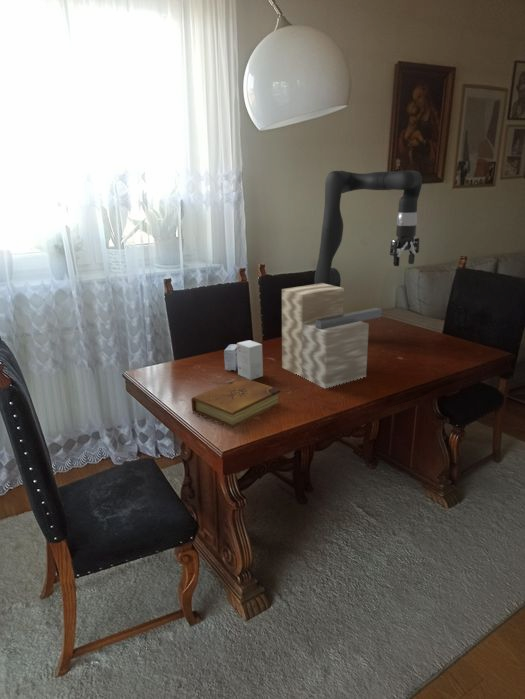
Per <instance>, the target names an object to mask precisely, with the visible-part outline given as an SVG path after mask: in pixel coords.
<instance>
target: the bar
mask: <svg viewBox="0 0 525 699" xmlns="http://www.w3.org/2000/svg"><path fill="white" fill-rule="evenodd" d="M382 314H383V309H382V308H379V307H373V308H368V309H362V310H357V311H352V312H346V313H343V314H341V315H336V316H331V317H326V318H321V319H316V328H318V329H325V328H330V327H335V326H340V325H344V324H349V323H354V322H358V321H361V322H364V321H367V320H371V319H378V318H380V317H382Z"/></svg>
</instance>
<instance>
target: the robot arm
mask: <svg viewBox="0 0 525 699" xmlns="http://www.w3.org/2000/svg"><path fill="white" fill-rule="evenodd" d="M422 184H423V178H422V174H421V173H420V172H419V171H417V170H400V171H399V170H398V171H375V172H368V173H357V172H351V171H346V170H333V171H332V170H331V171H330V172H329V173H328V174H327V176H326V178H325V183H324V208H323V209H324V211H323V217H322V218H323V220H322V226H321V235H320V245H319V251H318V252H319V254H318V260H317V263H316V268H315V272H314V273H315V274H314V284H319V283H324V284H328V285H333V286H337V287H341V280H342V279H341V274H340V271H339V270H338V269H337V268H335V267H332V266H333V265H332V264H333V261H334V260H333V259H334V257H335V255H336V253H337V251H338V250H339V247H340V246H341V243H342V241H343V234H344V221H343V220H344V219H343V216H342V213H341V199H342V194H344V193H345V194H346V193H348V192H352V191H356V190H358V191H359V190H368V191H369V190H371V191H392V190H396V191H400V190H402V191H403V194H402V196H401V197H400V198H399V199H398V200H399V201H398V210H397V218H396V229H395V236H396V237H397V239H395V240H394V239H391V241H390V248H389V249H390V251H389V255H390V256H393V266H394V267H400V259H401V258H400V256H401V254H402V253H403V252H404V251H407V252H408V261H407V262H408V263H407V264H408V265H414V263H415V256H416V254H418V253H420V238H419V237H415V236H416V233H417V223H418V213H417V212H418V201H419V196H420V194H421V190H422V186H423V185H422Z"/></svg>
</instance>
